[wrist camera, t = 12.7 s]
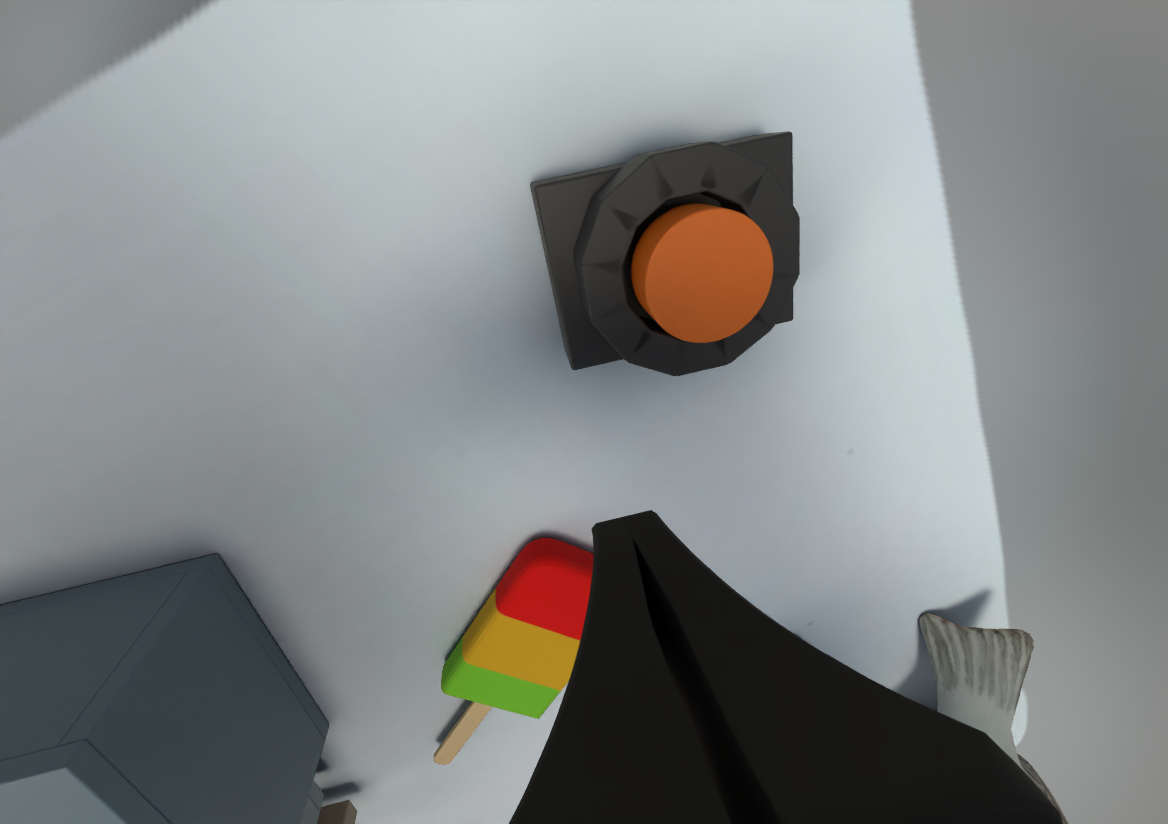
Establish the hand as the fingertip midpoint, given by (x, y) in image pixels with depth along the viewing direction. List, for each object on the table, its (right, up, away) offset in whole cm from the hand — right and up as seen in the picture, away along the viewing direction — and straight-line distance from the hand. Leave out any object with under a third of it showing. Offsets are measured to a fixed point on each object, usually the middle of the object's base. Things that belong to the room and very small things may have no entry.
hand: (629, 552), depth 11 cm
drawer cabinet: (-20, -9, +13) cm, 25 cm away
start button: (+2, +7, +4) cm, 9 cm away
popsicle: (-5, -9, +15) cm, 18 cm away
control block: (+2, +9, +8) cm, 12 cm away
